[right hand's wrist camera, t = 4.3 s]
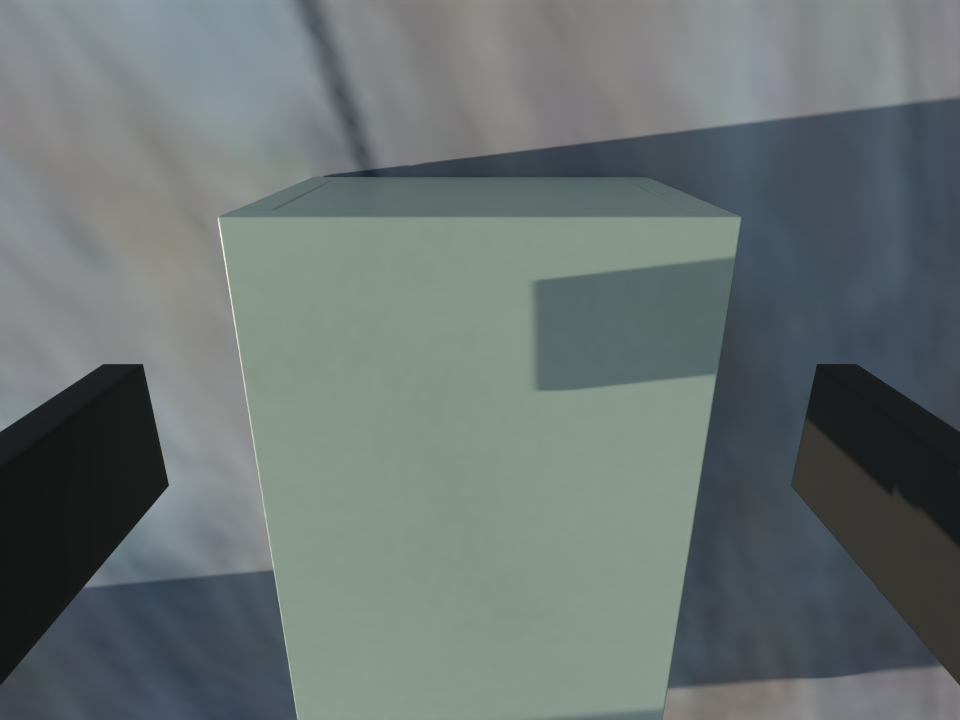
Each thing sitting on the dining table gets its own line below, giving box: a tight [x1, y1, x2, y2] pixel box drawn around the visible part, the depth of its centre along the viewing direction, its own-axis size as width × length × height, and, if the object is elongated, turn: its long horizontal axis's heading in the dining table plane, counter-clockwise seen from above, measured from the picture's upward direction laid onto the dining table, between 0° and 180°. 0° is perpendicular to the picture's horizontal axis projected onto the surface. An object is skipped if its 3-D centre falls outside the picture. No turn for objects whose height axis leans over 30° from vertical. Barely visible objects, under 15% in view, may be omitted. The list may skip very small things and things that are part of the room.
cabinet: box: [218, 177, 742, 720], centre depth 20 cm, size 17×11×8 cm, turn 0°
